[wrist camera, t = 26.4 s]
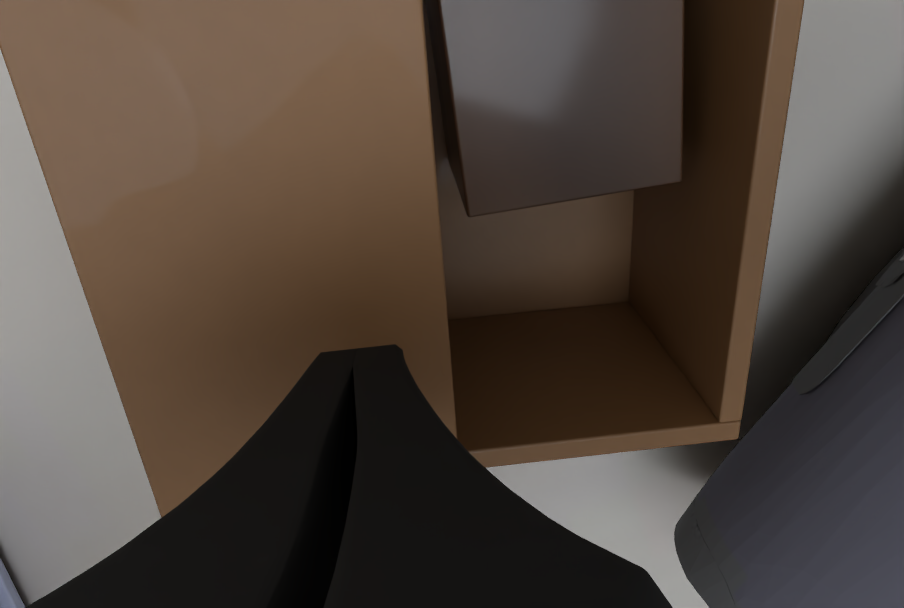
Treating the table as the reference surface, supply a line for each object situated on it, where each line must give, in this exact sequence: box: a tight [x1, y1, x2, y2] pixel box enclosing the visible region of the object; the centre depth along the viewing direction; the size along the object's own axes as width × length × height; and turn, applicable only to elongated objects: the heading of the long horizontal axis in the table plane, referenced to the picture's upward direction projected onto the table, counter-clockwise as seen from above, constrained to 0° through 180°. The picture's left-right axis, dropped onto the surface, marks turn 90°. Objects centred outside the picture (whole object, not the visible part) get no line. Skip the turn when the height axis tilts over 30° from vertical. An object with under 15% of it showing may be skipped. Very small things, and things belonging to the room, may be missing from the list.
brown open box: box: [422, 0, 804, 467], centre depth 14 cm, size 12×12×6 cm
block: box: [425, 0, 685, 217], centre depth 14 cm, size 4×4×4 cm
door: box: [0, 0, 457, 517], centre depth 11 cm, size 6×12×1 cm, turn 4°
